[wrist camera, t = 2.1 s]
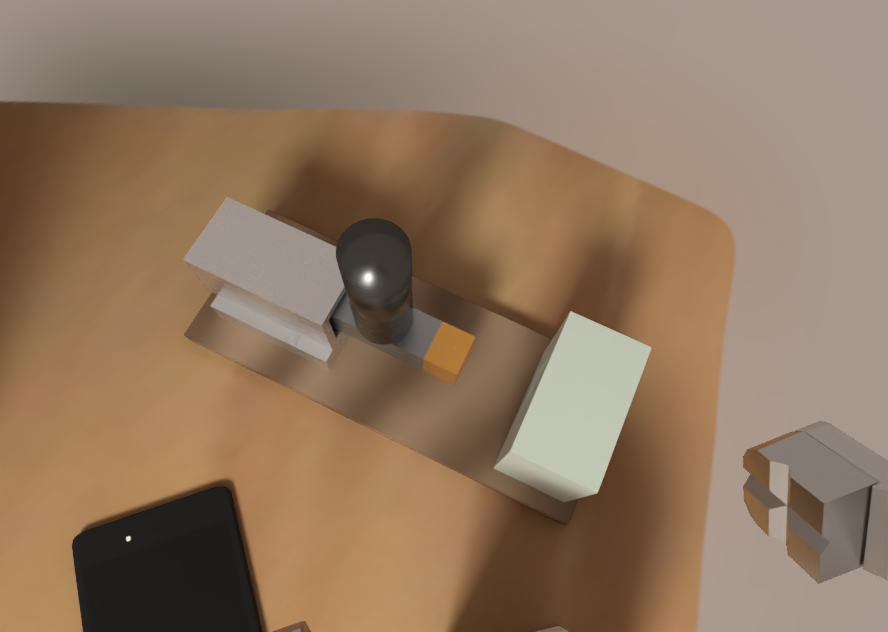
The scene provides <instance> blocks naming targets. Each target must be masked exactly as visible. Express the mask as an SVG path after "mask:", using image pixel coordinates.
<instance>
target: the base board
mask: <svg viewBox="0 0 888 632" xmlns="http://www.w3.org/2000/svg"><path fill="white" fill-rule="evenodd" d="M265 215H268V216H270V217H272V218H274V219H276V220H279V221H281V222H283V223H285V224H287V225H289V226H292V227H294V228H296V229H298V230H300V231H303V232H305V233H307V234H309V235H311V236H314V237H316V238H318V239H320V240H322V241H324V242H327V243H329V244H331V245H333V246H335V247H337V243H338V241H336V240H333V239H331V238H329V237H327V236H325V235H323V234H320V233H318V232H316V231H314V230H312V229H309V228H307V227H305V226H303V225H301V224H298V223H296V222H294V221H292V220H290V219H287V218H285V217H283V216H281V215H279V214H276V213H274V212H272V211H270V210H267V212H266V213H265ZM412 294H413V308H415V309H417V310H419V311H421V312H423V313H426V314H428V315H430V316H432V317H434V318H436V319H439V320H441V321H443V322H445V323H447V324H449V325H452V326H454V327H456V328H458V329H460V330H462V331H465V332H467V333H469V334H471V335H473V336H475V341H474V345H473V348H472V351H471V353H470V355H469V357H468V359H467V361H466V363H465V365H464V367H463V370H462V372H461V374H460V376H459V378H458V380H457V382H456V384H455V386H454V385H452V384H450V383H448V382H446V381H443V380H441V379H439V378H437V377H435V376H433V375H431V374H429V373H427V372H424V371H422V370H420V369H418V368H416V367H414V366H412V365H410V364H408V363H406V362H403V361H401V360H399V359H397V358H395V357H393V356H391V355H389V354H387V353H385V352H382V351H380V350H378V349H376V348H374V347H372V346H370V345H368V344H366V343H364V342H361V341H359V340H357V339H355V338H353V337H351V336H349V338H348V340H347V341H346V343H345V345H344V347H343V349H342V350H341V352H340V354H339V356H338V357H337V359H336V361H335V363H334V364H333V366H332V368H331V370H329V369H327V368H325V367H323V366H321V365H319V364H316V363H314V362H312V361H310V360H308V359H306V358H304V357H302V356H300V355H298V354H296V353H294V352H292V351H290V350H288V349H286V348H284V347H281V346H279V345H277V344H275V343H273V342H271V341H269V340H267V339H265V338H263V337H261V336H259V335H257V334H255V333H253V332H251V331H248V330H246V329H244V328H242V327H240V326H238V325H236V324H234V323H232V322H230V321H228V320H226V319H224V318H222V317H220V316H219V315H218V314H217V313H216V312H215V311H214V310H213V309H212V308H211V306H210V305H211V304H212V302H213V301H214V299H215V298H216V296H217V295H216V294H214V293H212V294H211V295H210V296H209V298H208V299H207V301H206V302H205V304H204V305H203V307H202V308H201V310H200V311H199V313H198V314H197V316H196V317H195V319H194V320H193V322H192V323H191V325H190V326H189V328H188V329H187V331H186V332H185V334H184V335H185V336H186V337H187V338H188V339H189V340H191V341H193V342H195V343H198V344H200V345H202V346H204V347H206V348H208V349H210V350H212V351H214V352H216V353H218V354H220V355H222V356H224V357H226V358H228V359H230V360H232V361H234V362H236V363H238V364H240V365H242V366H244V367H246V368H248V369H250V370H252V371H254V372H256V373H258V374H260V375H262V376H264V377H266V378H268V379H270V380H272V381H274V382H276V383H278V384H281V385H283V386H285V387H287V388H289V389H291V390H293V391H295V392H297V393H299V394H301V395H303V396H305V397H307V398H309V399H311V400H313V401H315V402H317V403H319V404H321V405H323V406H325V407H327V408H329V409H331V410H333V411H335V412H337V413H339V414H341V415H343V416H345V417H347V418H349V419H351V420H353V421H355V422H357V423H359V424H362V425H364V426H366V427H368V428H370V429H372V430H374V431H376V432H378V433H380V434H382V435H384V436H386V437H388V438H390V439H392V440H394V441H396V442H398V443H400V444H402V445H404V446H406V447H408V448H410V449H412V450H414V451H416V452H418V453H420V454H422V455H424V456H426V457H428V458H430V459H432V460H434V461H436V462H438V463H440V464H442V465H445V466H447V467H449V468H451V469H453V470H455V471H457V472H459V473H461V474H463V475H465V476H467V477H469V478H471V479H473V480H475V481H477V482H479V483H481V484H483V485H485V486H487V487H489V488H491V489H493V490H495V491H497V492H499V493H501V494H503V495H505V496H507V497H509V498H511V499H513V500H515V501H517V502H519V503H521V504H523V505H525V506H528V507H530V508H532V509H534V510H536V511H538V512H540V513H542V514H544V515H546V516H548V517H550V518H552V519H554V520H556V521H558V522H560V523H562V524H564V525H567V524H569V522H570V519H571V517H572V514H573V511H574V509H575V506H576V503H577V501H578V499H575V500H571V501H567V502H562V501H560V500H558V499H555V498H553V497H551V496H549V495H547V494H545V493H543V492H541V491H539V490H537V489H535V488H533V487H531V486H529V485H527V484H525V483H523V482H521V481H519V480H517V479H515V478H513V477H511V476H508V475H506V474H504V473H502V472H500V471H498V470H496V469H494V468H493V467H494V465H495V463H496V460H497V458H498V456H499V453H500V451H501V449H502V447H503V444H504V442H505V440H506V437H507V435H508V433H509V431H510V428H511V426H512V424H513V421H514V419H515V417H516V415H517V412H518V410H519V408H520V405H521V403H522V401H523V399H524V396H525V394H526V392H527V389H528V387H529V385H530V383H531V380H532V378H533V376H534V373H535V371H536V369H537V367H538V364H539V362H540V360H541V358H542V355H543V353H544V351H545V349H546V348H547V346H548V345H549V343H550V342H551V340H552V339H551V338H549V337H546V336H544V335H542V334H540V333H538V332H535V331H533V330H531V329H529V328H527V327H524V326H522V325H520V324H518V323H516V322H513V321H511V320H509V319H507V318H505V317H502V316H500V315H498V314H496V313H494V312H491V311H489V310H487V309H485V308H483V307H481V306H478V305H476V304H474V303H472V302H470V301H467V300H465V299H463V298H461V297H459V296H456V295H454V294H452V293H450V292H448V291H445V290H443V289H441V288H439V287H437V286H434V285H432V284H430V283H428V282H426V281H423V280H421V279H419V278H417V277H415V276H412Z"/></svg>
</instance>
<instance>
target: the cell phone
mask: <svg viewBox="0 0 888 632" xmlns="http://www.w3.org/2000/svg"><path fill="white" fill-rule="evenodd" d="M72 549H73V557H74V566H75V573H76V581H77V588H78V596H79V603H80V611H81V618H82V626H83V632H262V629H261V624H260V620H259V615H258V611H257V606H256V602H255V597H254V593H253V588H252V584H251V579H250V575H249V570H248V566H247V561H246V557H245V552H244V548H243V543H242V539H241V534H240V530H239V525H238V521H237V516H236V512H235V507H234V503H233V499H232V494H231V492H230V490H229V489H228V488H226V487H215V488H211V489H208V490H205V491H202V492H199V493H196V494H193V495H190V496H187V497H184V498H181V499H178V500H176V501H173V502H170V503H167V504H164V505H161V506H158V507H155V508H152V509H149V510H146V511H143V512H140V513H137V514H134V515H131V516H128V517H125V518H123V519H120V520H117V521H114V522H111V523H108V524H105V525H102V526H99V527H96V528H93V529H90V530H87V531H85V532H83V533H81V534H79V535H77V536H76V537H75V538H74V540H73V544H72Z"/></svg>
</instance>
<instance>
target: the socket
mask: <svg viewBox="0 0 888 632" xmlns="http://www.w3.org/2000/svg"><path fill="white" fill-rule="evenodd" d="M651 348H652V347H650V346H647V345H645V344H643V343H641V342H638V341H636V340H634V339H632V338H630V337H627V336H625V335H623V334H621V333H618V332H616V331H614V330H612V329H609V328H607V327H605V326H603V325H601V324H598V323H596V322H594V321H592V320H589V319H587V318H585V317H583V316H580V315H578V314H576V313H574V312H572V311H570V313H569V314H568V316H567V317H566V319H565V320H564V322H563V323H562V325H561V327H560V328H559V330H558V331H557V333H556V334H555V336H554V337H553V339H552V340H551V342H550V343H549V345H548V346H547V348H546V349H545V351H544V353H543V355H542V358H541V360H540V362H539V364H538V367H537V369H536V371H535V373H534V376H533V378H532V380H531V383H530V385H529V387H528V389H527V392H526V394H525V396H524V399H523V401H522V403H521V405H520V408H519V410H518V412H517V415H516V417H515V419H514V421H513V424H512V426H511V428H510V431H509V433H508V435H507V437H506V440H505V442H504V444H503V447H502V449H501V451H500V453H499V456H498V458H497V460H496V463H495V465H494V467H493V468H494V469H496V470H498V471H500V472H502V473H504V474H506V475H508V476H511V477H513V478H515V479H517V480H519V481H521V482H523V483H525V484H527V485H529V486H531V487H533V488H535V489H537V490H539V491H541V492H543V493H545V494H547V495H549V496H551V497H553V498H555V499H558V500H560V501H562V502H567V501H571V500H575V499H578V498H582V497H586V496H589V495H593V494H597V493H598V491H599V488H600V486H601V483H602V480H603V478H604V475H605V472H606V470H607V467H608V464H609V461H610V459H611V456H612V453H613V451H614V448H615V445H616V443H617V440H618V437H619V434H620V432H621V429H622V426H623V424H624V421H625V418H626V416H627V413H628V410H629V407H630V405H631V402H632V399H633V397H634V394H635V391H636V389H637V386H638V383H639V380H640V378H641V375H642V372H643V370H644V367H645V364H646V362H647V359H648V356H649V354H650V351H651Z"/></svg>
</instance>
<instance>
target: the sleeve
mask: <svg viewBox="0 0 888 632" xmlns="http://www.w3.org/2000/svg"><path fill="white" fill-rule="evenodd" d="M183 261H184V262H185V263H186V264H187V265H188V267H189V268H190V269H191V270H192V271H193V273H194V274H195V275H196V276H197V277H198V279H199V280H200V281H201V282H202V283H203V284H204V286H205V287H206V288H207V289H208V290H209V291H210V292H212V293H214V294H216V295H217V296H216V298H215V299H214V301H213V302H212V304H211V305H210V306H211V308H212V309H213V310H214V311H215V312H216V313H217V314H218V315H219V316H220V317H222V318H224V319H226V320H228V321H230V322H232V323H234V324H236V325H238V326H240V327H242V328H244V329H246V330H248V331H251V332H253V333H255V334H257V335H259V336H261V337H263V338H265V339H267V340H269V341H271V342H273V343H275V344H277V345H279V346H281V347H284V348H286V349H288V350H290V351H292V352H294V353H296V354H298V355H300V356H302V357H304V358H306V359H308V360H310V361H312V362H314V363H316V364H319V365H321V366H323V367H325V368H327V369H329V370H331V368H332V366H333V364H334V363H335V361H336V359H337V357H338V356H339V354H340V352H341V350H342V349H343V347H344V345H345V343H346V341H347V340H348V338H349V335H347V334H345V333H342V332H340V331H338V330H336V329H334V328H332V327H331V325H330V322H329V319H330V317H331V315H332V314H333V312H334V310H335V308H336V307H337V305H338V303H339V302H340V300H341V298H342V296H343V295H344V293H345V291H346V290H345V287H344V284H343V280H342V277H341V274H340V270H339V267H338V263H337V259H336V247H335V246H333V245H331V244H329V243H327V242H324V241H322V240H320V239H318V238H316V237H314V236H311V235H309V234H307V233H305V232H303V231H300V230H298V229H296V228H294V227H292V226H289V225H287V224H285V223H283V222H281V221H279V220H276V219H274V218H272V217H270V216H268V215H265V214H263V213H261V212H259V211H257V210H254V209H252V208H250V207H248V206H246V205H244V204H241V203H239V202H237V201H235V200H233V199H230V198H228V197H227V198H226V199H225V201H224V202H223V203H222V205H221V206H220V208H219V209H218V211H217V212H216V213H215V215H214V216H213V218H212V219H211V220H210V222H209V223H208V225H207V226H206V227H205V229H204V230H203V232H202V233H201V235H200V236H199V237H198V239H197V240H196V242H195V243H194V244H193V246H192V247H191V249H190V250H189V251H188V253H187V254H186V256H185V257H184V258H183Z"/></svg>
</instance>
